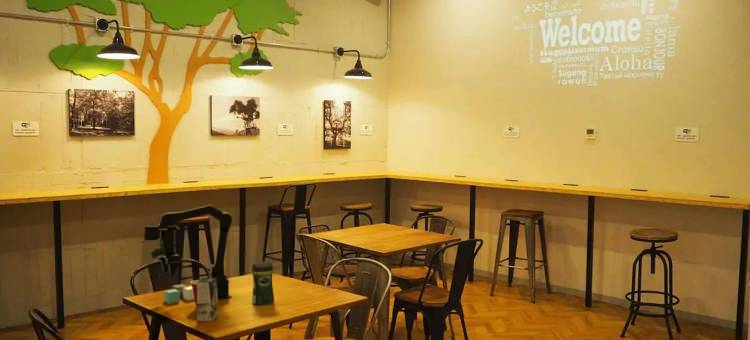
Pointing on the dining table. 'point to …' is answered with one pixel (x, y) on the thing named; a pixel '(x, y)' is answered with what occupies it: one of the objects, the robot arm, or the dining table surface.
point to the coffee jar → (262, 283)
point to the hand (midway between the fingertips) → (168, 274)
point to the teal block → (171, 296)
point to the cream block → (188, 293)
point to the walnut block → (179, 288)
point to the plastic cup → (195, 289)
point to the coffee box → (207, 299)
